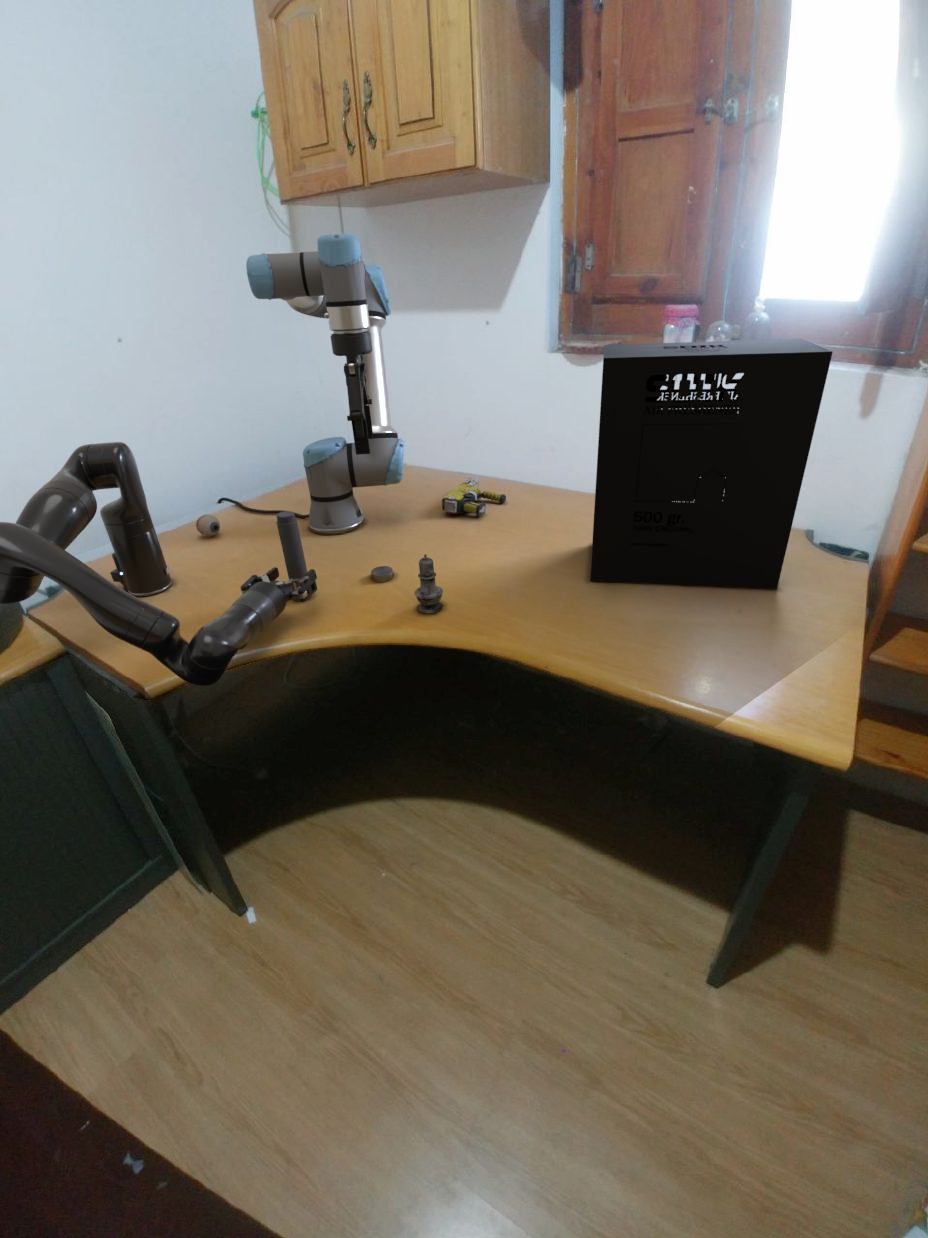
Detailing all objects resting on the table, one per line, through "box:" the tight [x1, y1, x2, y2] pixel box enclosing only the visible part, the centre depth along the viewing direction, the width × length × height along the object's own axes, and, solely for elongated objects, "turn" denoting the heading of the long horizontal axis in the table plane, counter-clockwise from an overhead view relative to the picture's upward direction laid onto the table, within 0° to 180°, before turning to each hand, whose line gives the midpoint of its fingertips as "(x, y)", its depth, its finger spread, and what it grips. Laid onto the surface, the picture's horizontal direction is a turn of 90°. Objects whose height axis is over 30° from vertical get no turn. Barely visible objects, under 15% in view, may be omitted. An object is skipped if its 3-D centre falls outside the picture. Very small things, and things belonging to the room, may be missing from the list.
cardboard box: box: [589, 338, 834, 590], centre depth 125 cm, size 38×20×45 cm, turn 78°
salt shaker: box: [413, 553, 444, 614], centre depth 122 cm, size 6×6×12 cm
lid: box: [370, 565, 395, 583], centre depth 138 cm, size 5×5×2 cm
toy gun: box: [441, 477, 507, 518], centre depth 177 cm, size 5×24×15 cm
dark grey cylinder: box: [275, 510, 313, 603], centre depth 127 cm, size 4×4×19 cm
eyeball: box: [196, 514, 221, 538], centre depth 165 cm, size 6×6×6 cm
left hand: (295, 572), depth 128 cm, fingers open, 8 cm apart
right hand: (365, 445), depth 124 cm, fingers open, 13 cm apart
